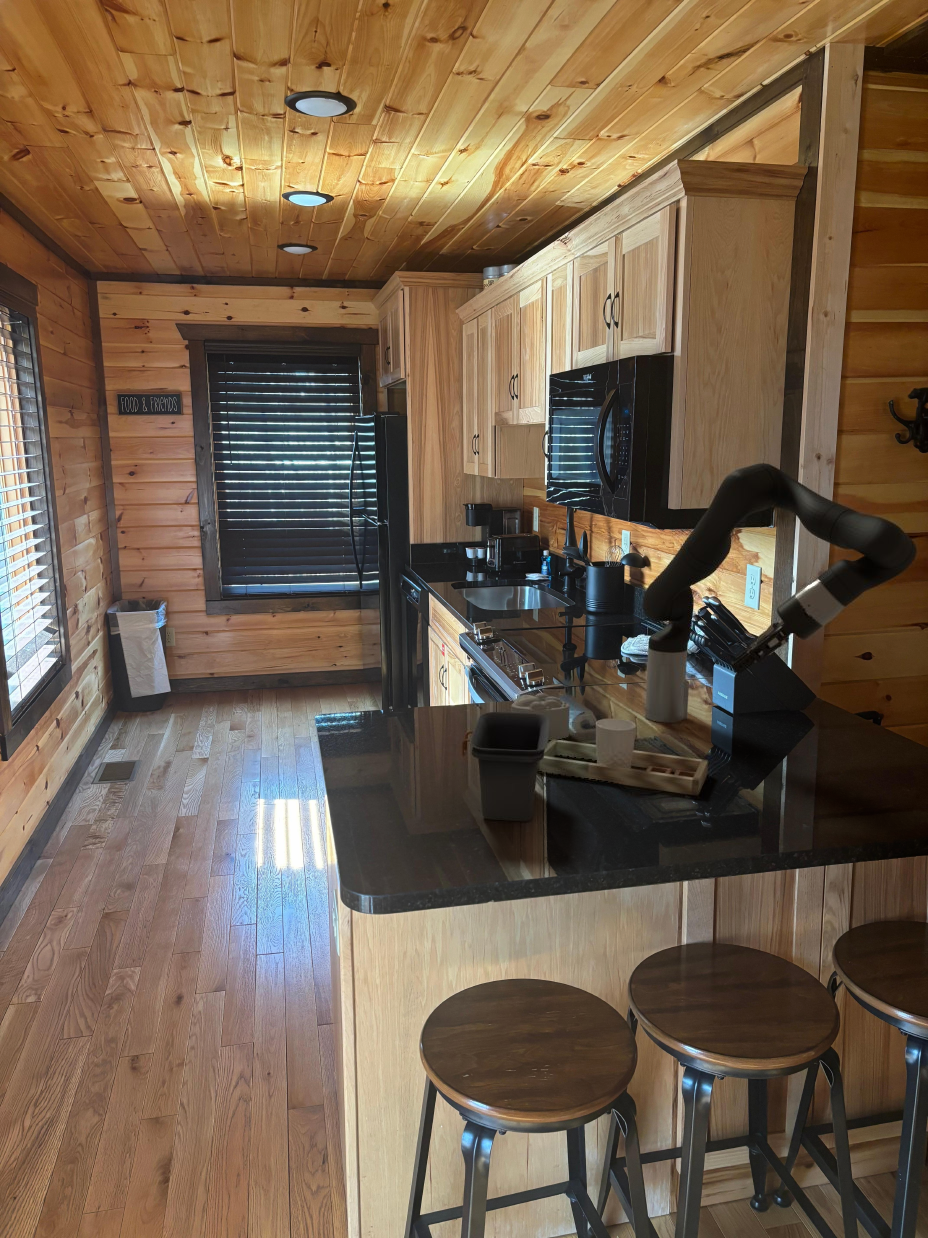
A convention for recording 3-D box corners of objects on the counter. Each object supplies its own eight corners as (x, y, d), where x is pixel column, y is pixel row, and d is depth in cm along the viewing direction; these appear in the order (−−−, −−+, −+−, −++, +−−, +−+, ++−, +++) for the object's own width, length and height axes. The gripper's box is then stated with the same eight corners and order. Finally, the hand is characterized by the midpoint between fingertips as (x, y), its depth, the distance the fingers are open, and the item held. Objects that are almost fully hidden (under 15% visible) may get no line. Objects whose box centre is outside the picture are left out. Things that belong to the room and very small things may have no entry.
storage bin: (545, 830, 152) (547, 750, 149) (454, 825, 153) (455, 745, 151) (548, 785, 172) (550, 714, 170) (468, 781, 174) (469, 710, 172)
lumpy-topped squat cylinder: (515, 725, 211) (516, 689, 209) (570, 729, 208) (571, 693, 206) (508, 738, 201) (509, 701, 199) (566, 743, 198) (567, 705, 196)
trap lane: (707, 774, 179) (708, 760, 178) (697, 795, 168) (698, 780, 167) (552, 752, 191) (552, 739, 191) (534, 770, 180) (534, 756, 180)
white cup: (624, 781, 175) (626, 732, 173) (587, 773, 179) (589, 725, 177) (639, 769, 181) (641, 722, 180) (603, 762, 186) (605, 716, 184)
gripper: (798, 587, 167) (727, 644, 174) (794, 598, 154) (717, 659, 161) (826, 617, 166) (753, 674, 173) (824, 631, 153) (746, 691, 160)
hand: (736, 666), depth 167 cm, fingers open, 4 cm apart
